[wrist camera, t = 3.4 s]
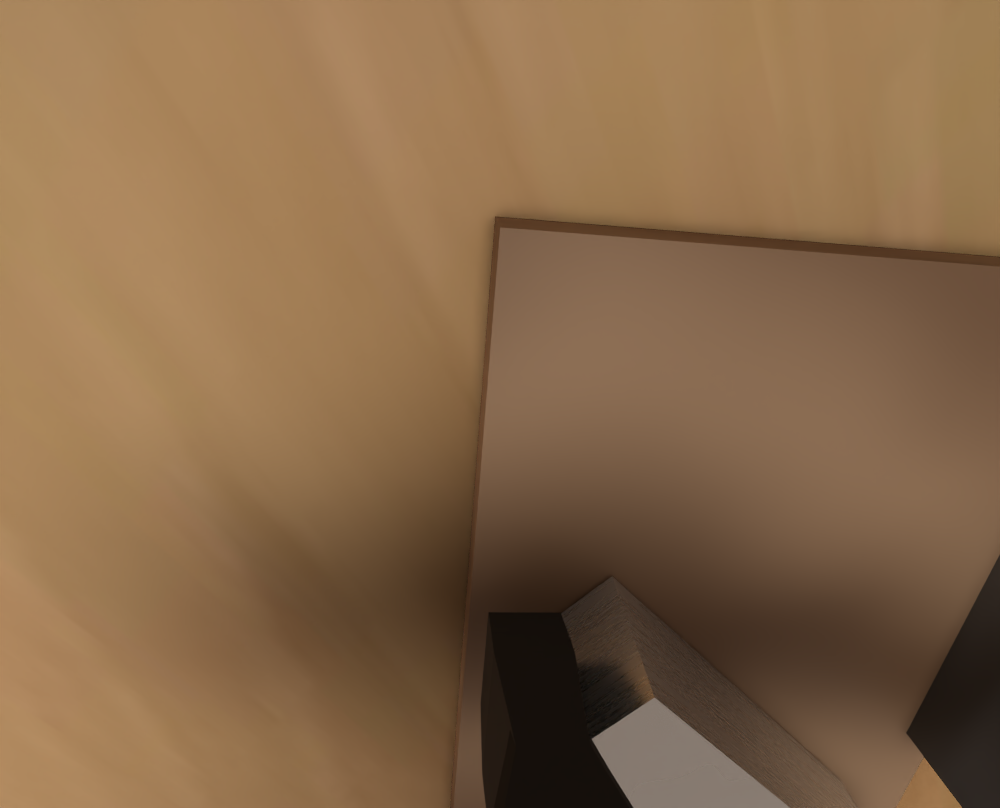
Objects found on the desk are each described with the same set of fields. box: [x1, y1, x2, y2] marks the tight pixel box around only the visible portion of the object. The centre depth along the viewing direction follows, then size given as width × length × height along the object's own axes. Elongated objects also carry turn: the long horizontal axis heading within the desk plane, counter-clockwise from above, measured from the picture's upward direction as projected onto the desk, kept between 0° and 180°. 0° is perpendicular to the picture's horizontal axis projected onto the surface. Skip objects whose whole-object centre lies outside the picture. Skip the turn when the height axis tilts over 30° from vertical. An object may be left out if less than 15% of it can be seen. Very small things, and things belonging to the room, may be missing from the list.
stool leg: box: [561, 576, 858, 808], centre depth 11 cm, size 9×2×3 cm, turn 43°
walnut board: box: [450, 217, 1000, 808], centre depth 11 cm, size 15×10×3 cm, turn 175°
